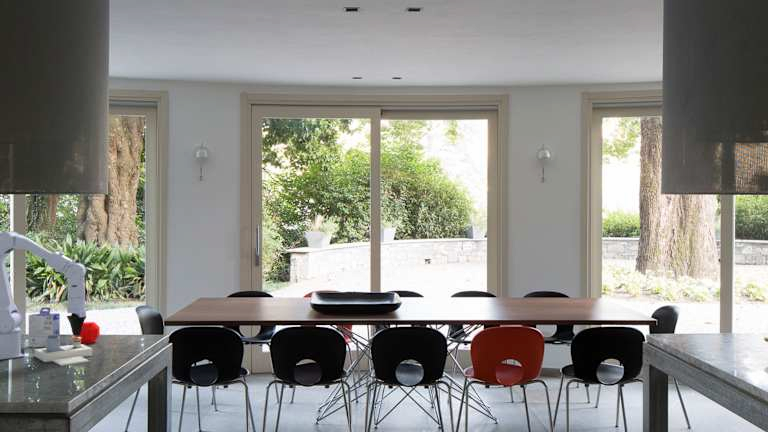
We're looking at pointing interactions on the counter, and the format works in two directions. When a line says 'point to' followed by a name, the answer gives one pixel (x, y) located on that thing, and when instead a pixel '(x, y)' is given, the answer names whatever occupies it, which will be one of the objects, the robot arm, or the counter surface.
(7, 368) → the counter surface
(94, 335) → the ball
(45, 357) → the white panel with holes
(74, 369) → the counter surface
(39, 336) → the ink cartridge box
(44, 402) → the counter surface
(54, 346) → the capped blue cylinder
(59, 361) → the stone coaster
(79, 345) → the plunger
